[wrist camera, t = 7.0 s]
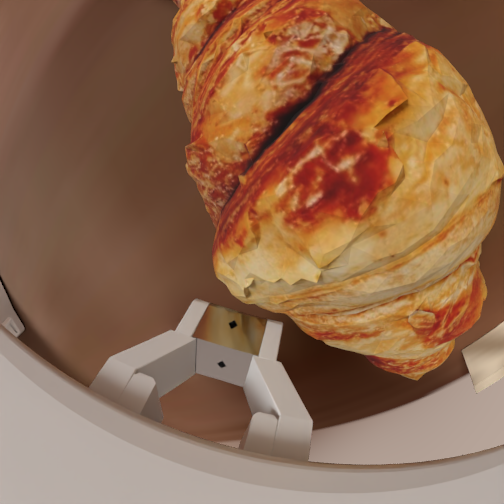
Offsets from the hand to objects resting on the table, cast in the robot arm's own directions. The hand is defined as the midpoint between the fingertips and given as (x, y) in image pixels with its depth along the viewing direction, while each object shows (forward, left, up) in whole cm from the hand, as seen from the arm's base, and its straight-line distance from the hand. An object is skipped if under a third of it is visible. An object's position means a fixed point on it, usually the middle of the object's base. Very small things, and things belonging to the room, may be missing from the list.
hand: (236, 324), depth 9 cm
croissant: (+5, 0, -5) cm, 7 cm away
